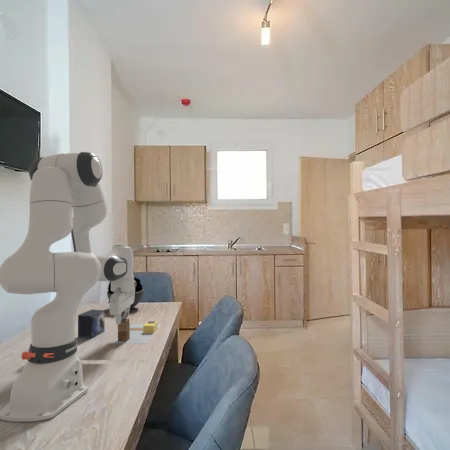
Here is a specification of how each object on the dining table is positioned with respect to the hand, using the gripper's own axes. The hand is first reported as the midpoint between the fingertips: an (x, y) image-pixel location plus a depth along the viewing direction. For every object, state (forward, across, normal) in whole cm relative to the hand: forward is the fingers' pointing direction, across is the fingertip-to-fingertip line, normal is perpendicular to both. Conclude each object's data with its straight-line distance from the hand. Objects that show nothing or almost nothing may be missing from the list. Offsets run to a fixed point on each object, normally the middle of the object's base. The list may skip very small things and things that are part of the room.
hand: (122, 320), depth 140 cm
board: (+9, +8, -4) cm, 13 cm away
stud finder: (+8, +12, -8) cm, 16 cm away
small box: (+9, +6, +15) cm, 19 cm away
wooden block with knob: (+8, -1, -1) cm, 8 cm away
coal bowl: (+10, +56, +17) cm, 60 cm away
